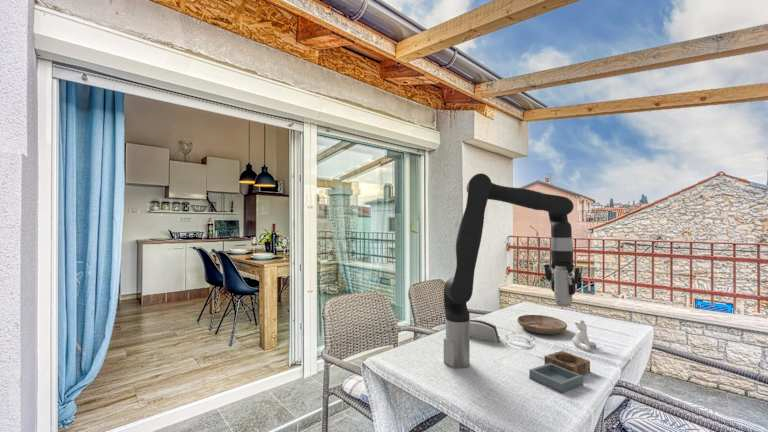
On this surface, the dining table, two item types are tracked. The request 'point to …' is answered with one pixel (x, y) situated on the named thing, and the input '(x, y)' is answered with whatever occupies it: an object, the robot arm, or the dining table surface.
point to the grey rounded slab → (483, 330)
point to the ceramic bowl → (542, 324)
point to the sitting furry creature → (582, 337)
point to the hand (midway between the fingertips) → (563, 292)
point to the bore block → (568, 362)
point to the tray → (556, 377)
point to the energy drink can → (561, 287)
